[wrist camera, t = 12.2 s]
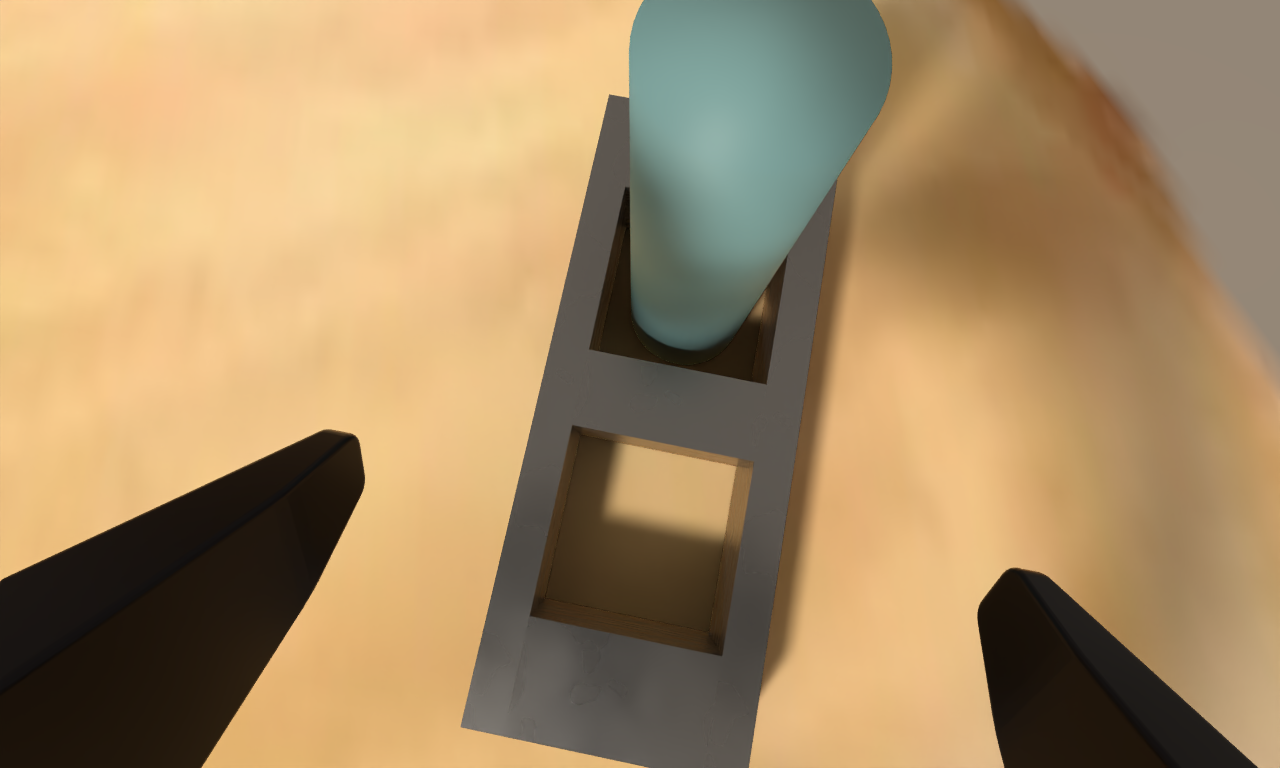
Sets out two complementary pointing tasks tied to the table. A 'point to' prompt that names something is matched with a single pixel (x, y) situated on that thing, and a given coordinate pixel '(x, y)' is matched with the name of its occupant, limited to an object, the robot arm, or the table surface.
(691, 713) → the grey slotted block
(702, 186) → the dowel
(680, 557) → the table surface
